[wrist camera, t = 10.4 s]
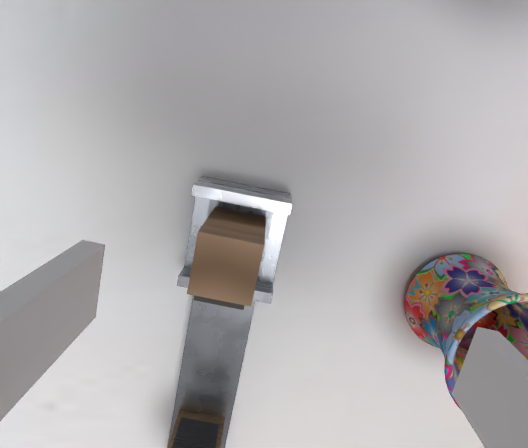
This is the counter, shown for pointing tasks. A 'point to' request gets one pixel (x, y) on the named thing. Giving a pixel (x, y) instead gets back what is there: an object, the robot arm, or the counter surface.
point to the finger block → (227, 258)
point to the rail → (221, 319)
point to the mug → (464, 308)
